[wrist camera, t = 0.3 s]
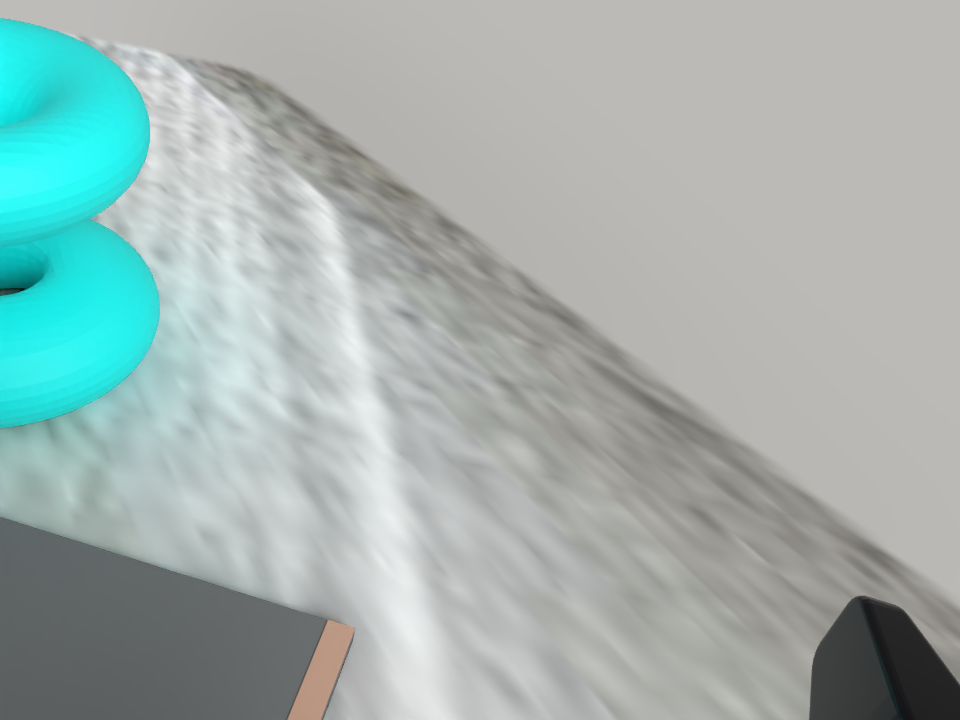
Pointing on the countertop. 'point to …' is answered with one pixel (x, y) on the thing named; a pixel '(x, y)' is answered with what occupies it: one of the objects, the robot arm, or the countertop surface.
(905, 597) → the countertop surface
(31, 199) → the donuts
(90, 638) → the mat
